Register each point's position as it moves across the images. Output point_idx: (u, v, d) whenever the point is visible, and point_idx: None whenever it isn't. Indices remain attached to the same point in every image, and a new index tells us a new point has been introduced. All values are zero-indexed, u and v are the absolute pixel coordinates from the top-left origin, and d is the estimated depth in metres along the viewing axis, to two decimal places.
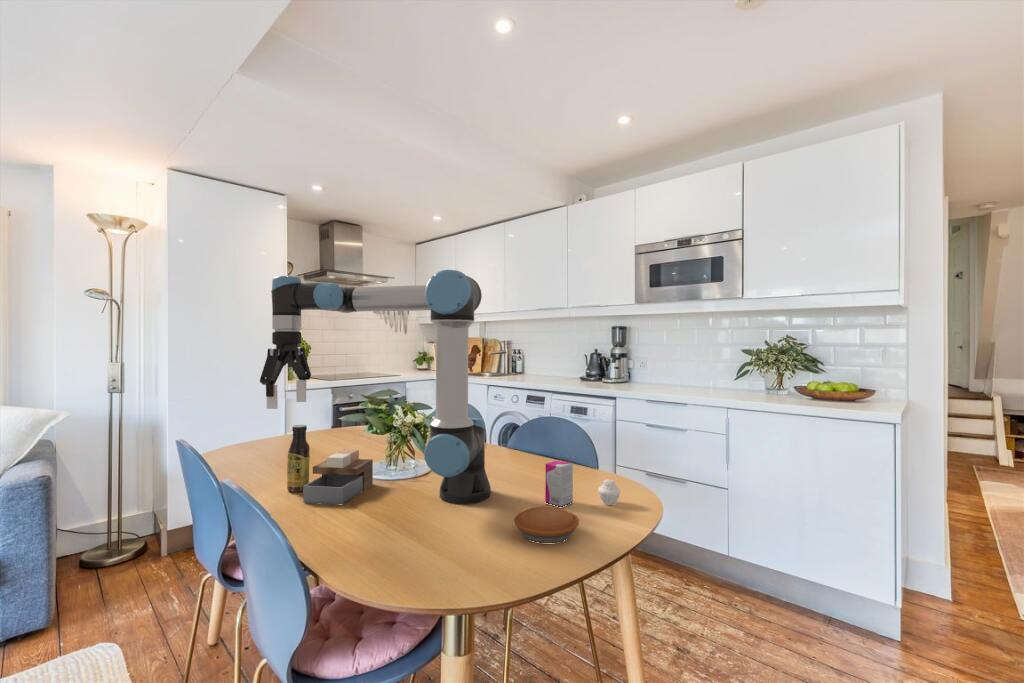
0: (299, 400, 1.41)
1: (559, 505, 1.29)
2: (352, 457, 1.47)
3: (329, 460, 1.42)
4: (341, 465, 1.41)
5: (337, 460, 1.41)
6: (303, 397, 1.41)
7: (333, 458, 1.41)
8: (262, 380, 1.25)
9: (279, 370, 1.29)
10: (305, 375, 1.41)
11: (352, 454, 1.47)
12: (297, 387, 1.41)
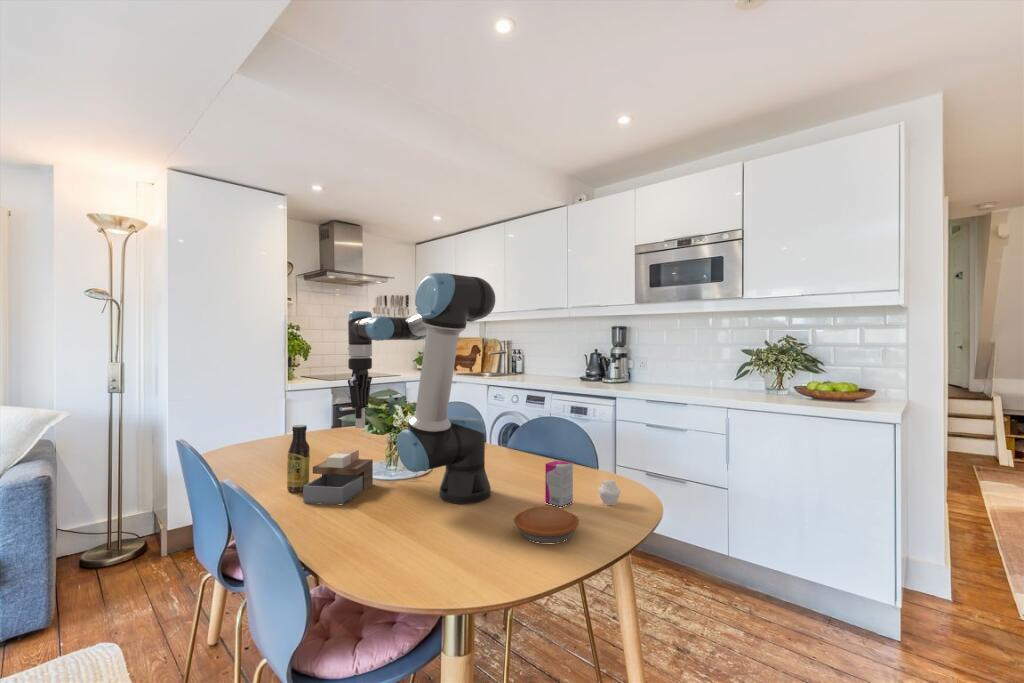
0: None
1: (559, 505, 1.29)
2: (352, 457, 1.47)
3: (329, 460, 1.42)
4: (341, 465, 1.41)
5: (337, 460, 1.41)
6: None
7: (333, 458, 1.41)
8: (353, 406, 1.54)
9: (361, 395, 1.56)
10: (365, 403, 1.59)
11: (352, 454, 1.47)
12: None
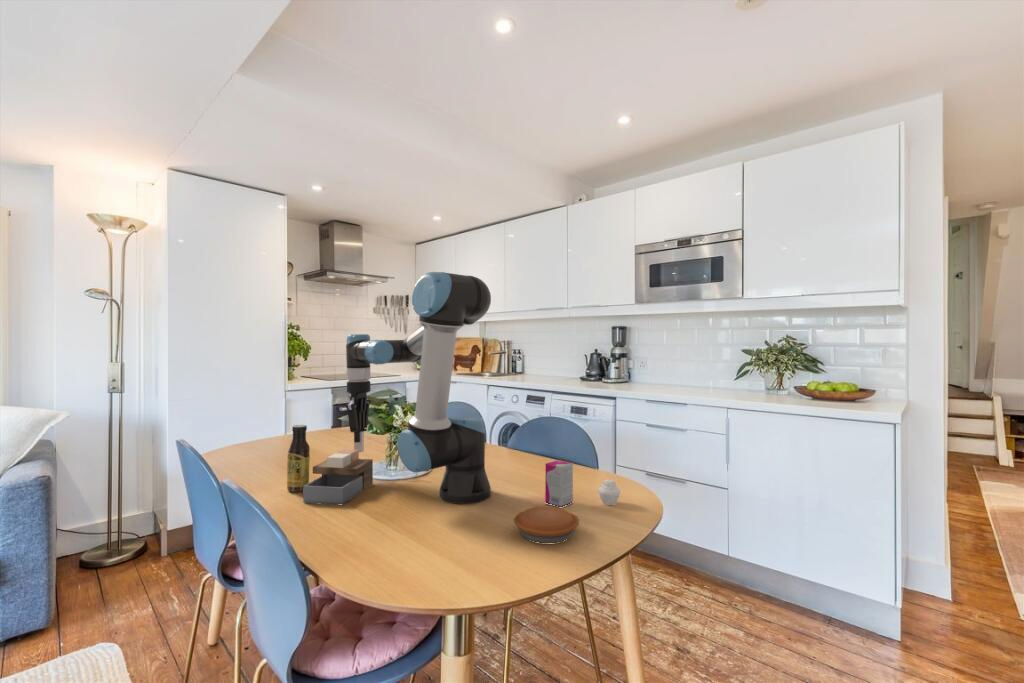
0: (357, 449, 1.56)
1: (559, 505, 1.29)
2: (352, 457, 1.47)
3: (329, 460, 1.42)
4: (341, 465, 1.41)
5: (337, 460, 1.41)
6: None
7: (333, 458, 1.41)
8: (352, 430, 1.53)
9: (360, 418, 1.55)
10: (364, 426, 1.57)
11: (352, 454, 1.47)
12: None
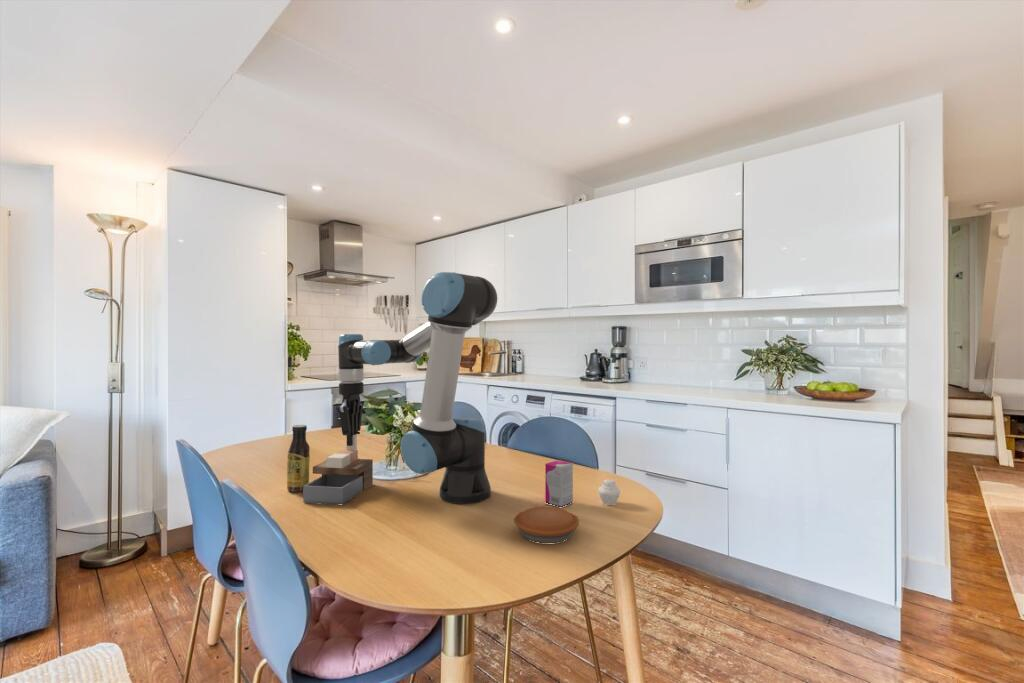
0: None
1: (559, 505, 1.29)
2: (351, 457, 1.46)
3: (328, 460, 1.41)
4: (340, 465, 1.41)
5: (337, 460, 1.41)
6: None
7: (332, 458, 1.41)
8: (344, 433, 1.48)
9: (352, 421, 1.50)
10: (356, 429, 1.53)
11: (351, 454, 1.46)
12: None
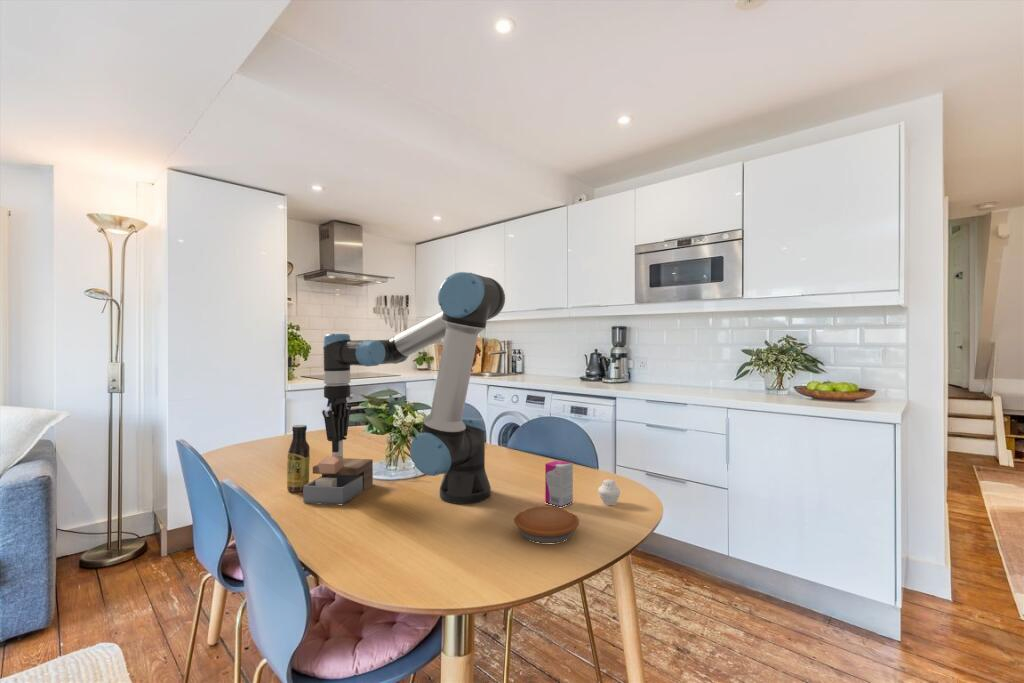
0: None
1: (559, 505, 1.29)
2: (336, 467, 1.38)
3: None
4: None
5: None
6: None
7: None
8: (329, 439, 1.39)
9: (338, 426, 1.41)
10: (343, 434, 1.44)
11: (336, 464, 1.38)
12: None
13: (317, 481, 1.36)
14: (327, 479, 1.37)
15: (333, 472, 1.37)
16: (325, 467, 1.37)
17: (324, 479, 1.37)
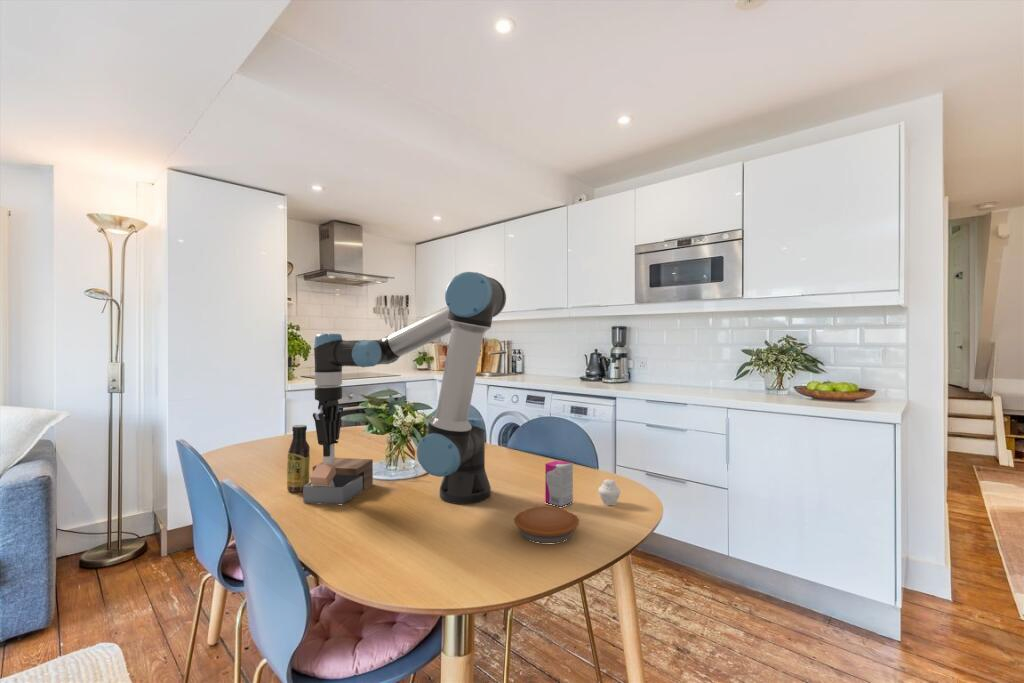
0: (327, 464, 1.38)
1: (559, 505, 1.29)
2: (328, 479, 1.33)
3: None
4: None
5: None
6: None
7: None
8: (320, 443, 1.35)
9: (330, 429, 1.36)
10: (334, 438, 1.39)
11: (327, 477, 1.33)
12: None
13: (313, 485, 1.34)
14: None
15: (326, 484, 1.33)
16: (317, 480, 1.33)
17: None
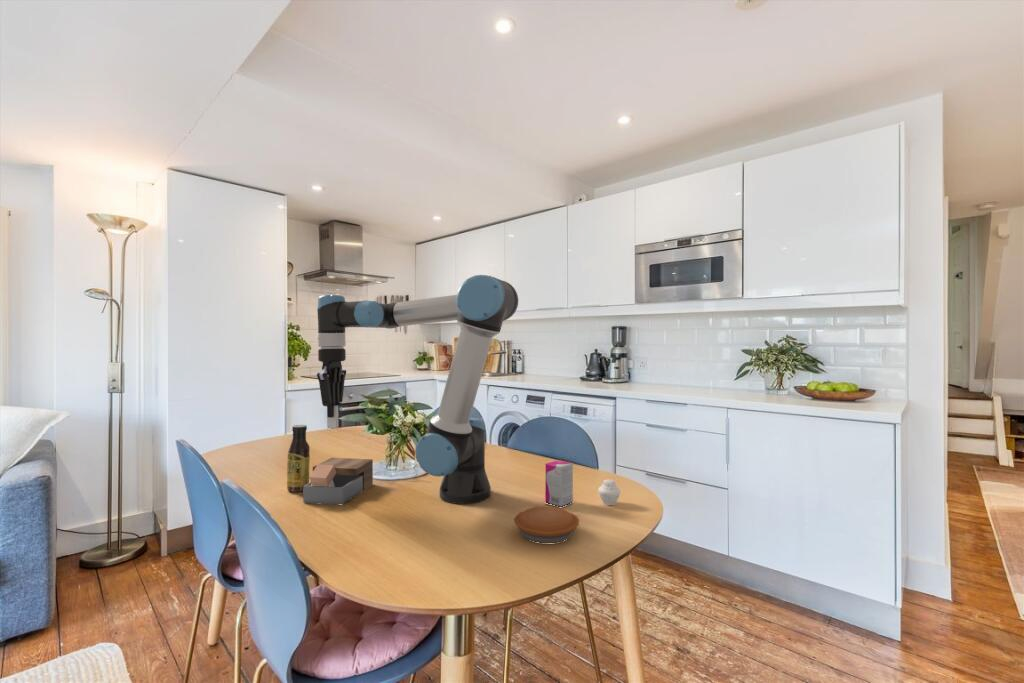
0: None
1: (559, 505, 1.29)
2: (328, 479, 1.33)
3: None
4: None
5: None
6: None
7: None
8: (324, 403, 1.35)
9: (333, 390, 1.37)
10: (338, 399, 1.40)
11: (327, 477, 1.33)
12: None
13: (313, 485, 1.34)
14: None
15: (325, 484, 1.33)
16: (317, 480, 1.33)
17: None
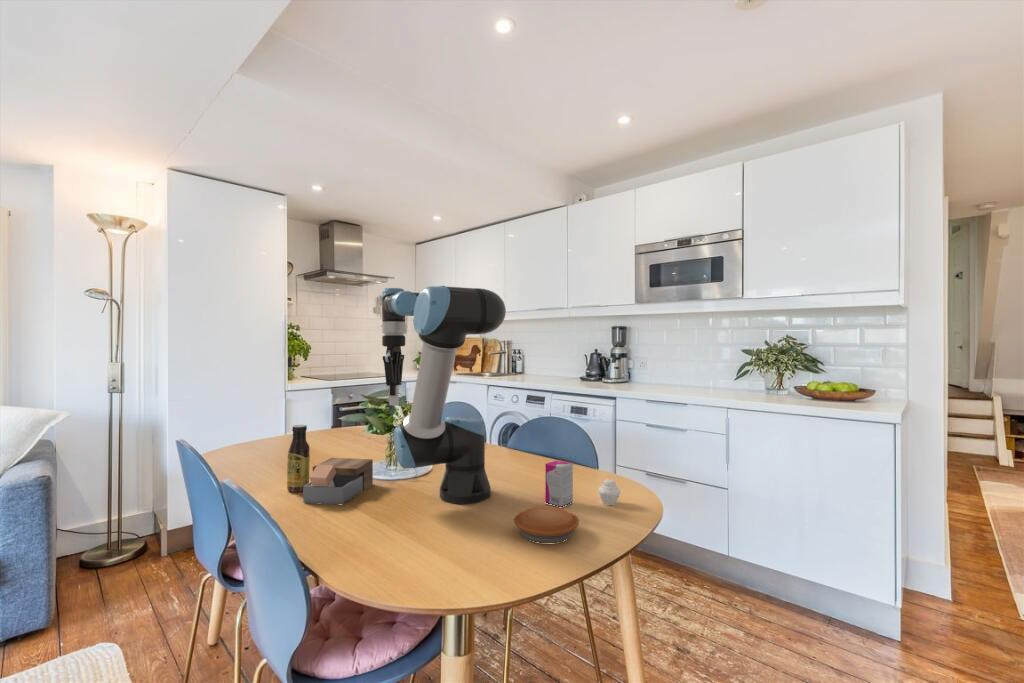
0: None
1: (559, 505, 1.29)
2: (328, 479, 1.33)
3: None
4: None
5: None
6: None
7: None
8: (388, 383, 1.54)
9: (395, 372, 1.56)
10: (398, 380, 1.59)
11: (327, 477, 1.33)
12: None
13: (313, 485, 1.34)
14: None
15: (325, 484, 1.33)
16: (317, 480, 1.33)
17: None
